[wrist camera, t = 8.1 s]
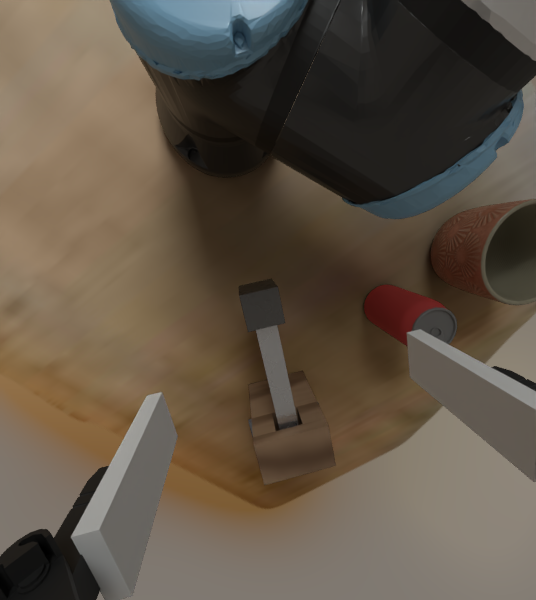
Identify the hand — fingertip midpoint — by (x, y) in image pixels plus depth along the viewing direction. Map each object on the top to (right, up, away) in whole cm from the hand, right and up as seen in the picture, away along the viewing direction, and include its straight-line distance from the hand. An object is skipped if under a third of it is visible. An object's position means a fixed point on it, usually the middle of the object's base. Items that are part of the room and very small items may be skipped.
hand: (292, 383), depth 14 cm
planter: (+28, +12, +28) cm, 42 cm away
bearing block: (+1, -11, +31) cm, 33 cm away
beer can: (+17, +4, +29) cm, 34 cm away
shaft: (0, -4, +21) cm, 22 cm away
